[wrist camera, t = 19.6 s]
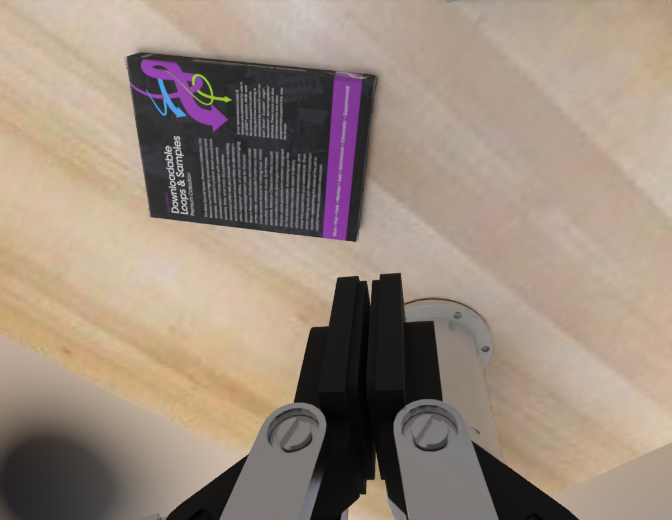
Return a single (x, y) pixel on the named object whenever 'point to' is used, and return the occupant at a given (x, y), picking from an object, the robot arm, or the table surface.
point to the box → (253, 143)
